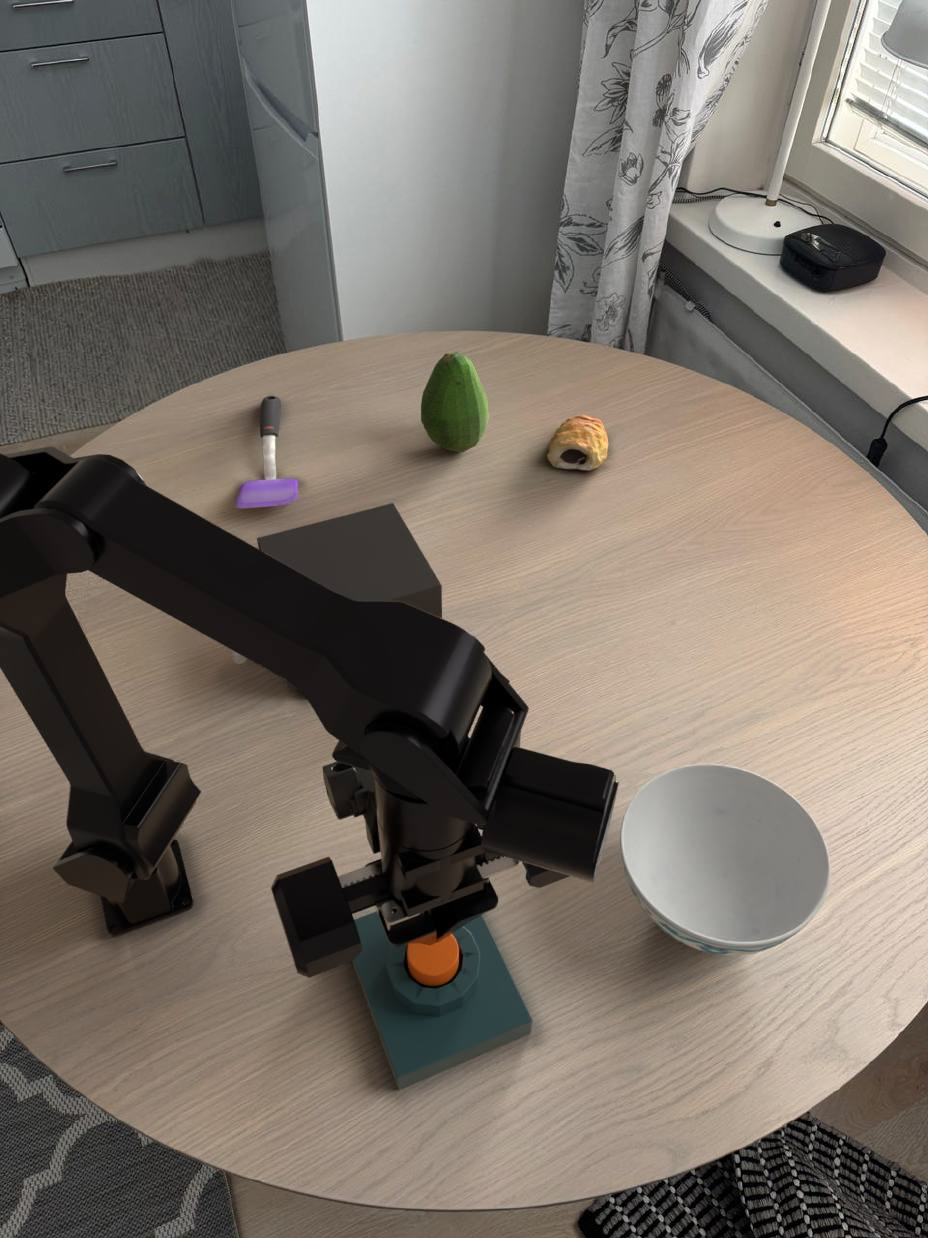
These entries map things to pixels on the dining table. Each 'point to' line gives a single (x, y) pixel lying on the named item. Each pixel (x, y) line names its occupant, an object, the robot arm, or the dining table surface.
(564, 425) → the pastry
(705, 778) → the chinaware
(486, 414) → the avocado
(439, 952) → the button
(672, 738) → the dining table surface
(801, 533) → the dining table surface
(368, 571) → the box
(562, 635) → the dining table surface
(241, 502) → the spatula
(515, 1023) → the block
